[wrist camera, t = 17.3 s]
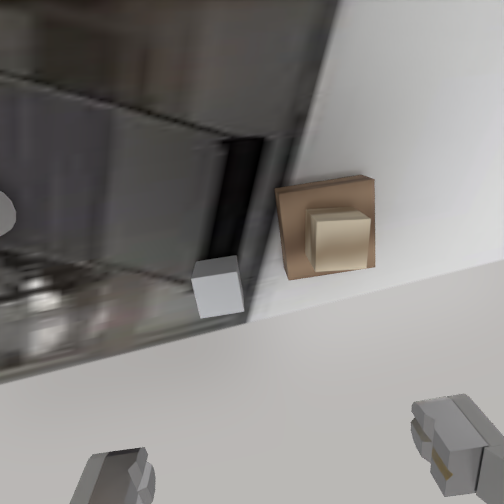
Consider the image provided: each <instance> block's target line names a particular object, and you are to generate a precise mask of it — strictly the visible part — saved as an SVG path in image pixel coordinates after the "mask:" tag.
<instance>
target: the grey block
mask: <svg viewBox="0 0 504 504" xmlns="http://www.w3.org/2000/svg"><path fill="white" fill-rule="evenodd" d="M191 281H192V285H193V289H194V293H195V297H196V302H197V306H198V310H199V314H200V318H206V317H213V316H219V315H225V314H231V313H238V312H244V300H243V289H242V283H241V278H240V272H239V266H238V261H237V255H234V256H228V257H222V258H215V259H209V260H203V261H196V263H195V267H194V270H193V274H192V277H191Z"/></svg>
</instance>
